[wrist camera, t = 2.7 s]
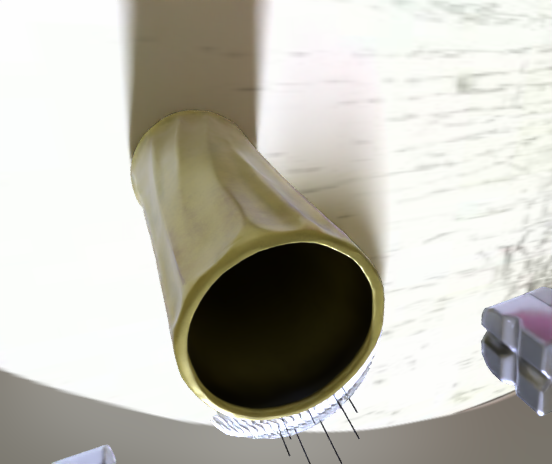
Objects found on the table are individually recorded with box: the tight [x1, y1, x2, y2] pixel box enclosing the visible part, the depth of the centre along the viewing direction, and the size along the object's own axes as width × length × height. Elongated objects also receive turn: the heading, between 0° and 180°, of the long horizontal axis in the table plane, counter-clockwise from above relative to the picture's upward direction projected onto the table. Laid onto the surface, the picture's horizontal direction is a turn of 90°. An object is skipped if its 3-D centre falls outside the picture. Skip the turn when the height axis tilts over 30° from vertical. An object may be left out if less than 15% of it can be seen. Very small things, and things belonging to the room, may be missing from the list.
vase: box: [131, 110, 385, 421], centre depth 18 cm, size 6×6×14 cm
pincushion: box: [210, 330, 382, 464], centre depth 28 cm, size 12×6×6 cm, turn 116°
